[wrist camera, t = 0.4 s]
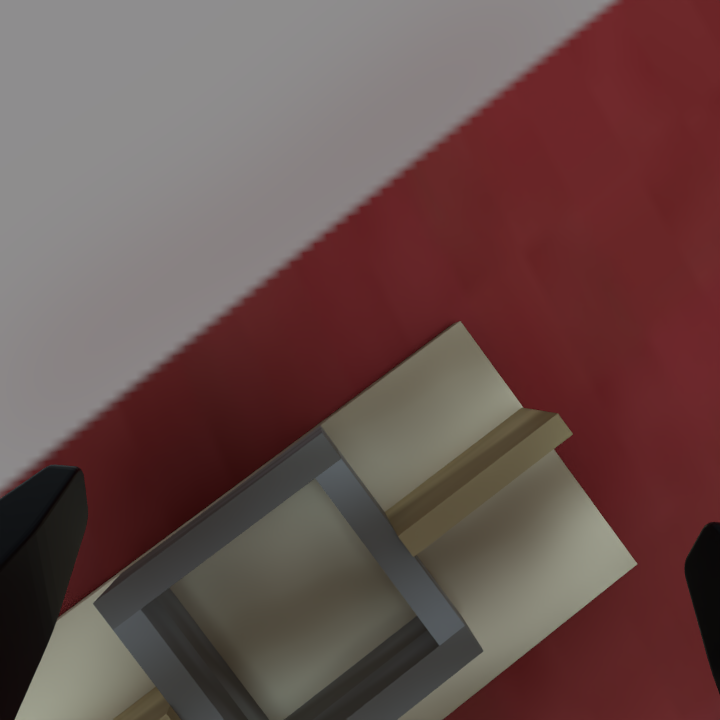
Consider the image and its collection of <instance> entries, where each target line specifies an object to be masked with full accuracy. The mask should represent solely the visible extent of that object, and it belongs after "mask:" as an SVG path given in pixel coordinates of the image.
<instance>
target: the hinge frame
mask: <svg viewBox="0 0 720 720" xmlns="http://www.w3.org/2000/svg"><path fill="white" fill-rule="evenodd" d="M571 435H573V434H572V432H571V431H570V430H569V428H568V427H567V425H566V424H565V423H564V421H563V420H562V419H561V417H560V416H559V414H558V413H552V412H545V411H539V410H533V409H527V408H523V407H522V405H521V404H520V402H519V401H518V400H517V398H516V397H515V396H514V394H513V393H512V391H511V390H510V389H509V387H508V386H507V385H506V383H505V382H504V380H503V379H502V378H501V376H500V375H499V374H498V372H497V371H496V370H495V368H494V367H493V365H492V364H491V363H490V361H489V360H488V359H487V357H486V356H485V354H484V353H483V352H482V350H481V349H480V348H479V346H478V345H477V343H476V342H475V341H474V339H473V338H472V337H471V335H470V334H469V332H468V331H467V330H466V328H465V327H464V326H463V324H462V323H461V321H459V322H456V323H454V324H452V325H451V326H450V327H448V328H447V329H446V330H444V331H443V332H442V333H440V334H439V335H438V336H436V337H435V338H434V339H432V340H431V341H429V342H428V343H427V344H425V345H424V346H423V347H421V348H420V349H419V350H417V351H416V352H415V353H413V354H412V355H411V356H409V357H408V358H407V359H405V360H404V361H403V362H401V363H400V364H399V365H397V366H396V367H395V368H393V369H392V370H391V371H389V372H388V373H386V374H385V375H384V376H382V377H381V378H380V379H378V380H377V381H376V382H374V383H373V384H372V385H370V386H369V387H368V388H366V389H365V390H364V391H362V392H361V393H360V394H358V395H357V396H356V397H354V398H353V399H352V400H350V401H349V402H347V403H346V404H345V405H343V406H342V407H341V408H339V409H338V410H337V411H335V412H334V413H333V414H331V415H330V416H329V417H327V418H326V419H325V420H323V421H322V422H321V423H319V424H318V425H317V426H315V427H314V428H313V429H311V430H310V431H308V432H307V433H306V434H304V435H303V436H302V437H300V438H299V439H298V440H296V441H295V442H294V443H292V444H291V445H290V446H288V447H287V448H286V449H284V450H283V451H282V452H280V453H279V454H278V455H276V456H275V457H274V458H272V459H271V460H269V461H268V462H267V463H265V464H264V465H263V466H261V467H260V468H259V469H257V470H256V471H255V472H253V473H252V474H251V475H249V476H248V477H247V478H245V479H244V480H243V481H241V482H240V483H239V484H237V485H236V486H235V487H233V488H232V489H230V490H229V491H228V492H226V493H225V494H224V495H222V496H221V497H220V498H218V499H217V500H216V501H214V502H213V503H212V504H210V505H209V506H208V507H206V508H205V509H204V510H202V511H201V512H200V513H198V514H197V515H196V516H194V517H193V518H191V519H190V520H189V521H187V522H186V523H185V524H183V525H182V526H181V527H179V528H178V529H177V530H175V531H174V532H173V533H171V534H170V535H169V536H167V537H166V538H165V539H163V540H162V541H161V542H159V543H158V544H157V545H155V546H154V547H152V548H151V549H150V550H148V551H147V552H146V553H144V554H143V555H142V556H140V557H139V558H138V559H136V560H135V561H134V562H132V563H131V564H130V565H128V566H127V567H126V568H124V569H123V570H122V571H120V572H119V573H118V574H116V575H115V576H113V577H112V578H111V579H109V580H108V581H107V582H105V583H104V584H103V585H101V586H100V587H99V588H97V589H96V590H95V591H93V592H92V593H91V594H89V595H88V596H87V597H85V598H84V599H83V600H81V601H80V602H79V603H77V604H76V605H75V606H73V607H72V608H70V609H69V610H68V611H66V612H65V613H64V614H62V615H61V616H60V617H58V618H57V621H56V624H55V627H54V630H53V633H52V635H51V638H50V640H49V643H48V645H47V647H46V650H45V652H44V654H43V656H42V659H41V661H40V663H39V666H38V668H37V670H36V672H35V675H34V677H33V679H32V682H31V684H30V686H29V688H28V691H27V693H26V695H25V697H24V700H23V702H22V704H21V707H20V709H19V711H18V713H17V716H16V718H15V720H442V719H444V718H445V717H446V716H448V715H449V714H450V713H451V712H453V711H454V710H455V709H456V708H458V707H459V706H460V705H461V704H463V703H464V702H465V701H466V700H468V699H469V698H470V697H471V696H473V695H474V694H475V693H476V692H478V691H479V690H480V689H481V688H483V687H484V686H485V685H486V684H488V683H489V682H490V681H491V680H493V679H494V678H495V677H496V676H498V675H499V674H500V673H501V672H503V671H504V670H505V669H506V668H508V667H509V666H510V665H511V664H513V663H514V662H515V661H516V660H518V659H519V658H520V657H521V656H523V655H524V654H525V653H526V652H528V651H529V650H530V649H531V648H533V647H534V646H535V645H536V644H538V643H539V642H540V641H542V640H543V639H544V638H545V637H547V636H548V635H549V634H550V633H552V632H553V631H554V630H555V629H557V628H558V627H559V626H560V625H562V624H563V623H564V622H565V621H567V620H568V619H569V618H570V617H572V616H573V615H574V614H575V613H577V612H578V611H579V610H580V609H582V608H583V607H584V606H585V605H587V604H588V603H589V602H590V601H592V600H593V599H594V598H595V597H597V596H598V595H599V594H600V593H602V592H603V591H604V590H605V589H607V588H608V587H609V586H610V585H612V584H613V583H614V582H615V581H617V580H618V579H619V578H620V577H622V576H623V575H624V574H625V573H627V572H628V571H629V570H630V569H632V568H633V567H634V566H635V565H637V563H636V562H635V560H634V559H633V557H632V556H631V555H630V553H629V552H628V551H627V549H626V548H625V547H624V545H623V544H622V542H621V541H620V540H619V538H618V537H617V536H616V534H615V533H614V531H613V530H612V529H611V527H610V526H609V525H608V523H607V522H606V520H605V519H604V518H603V516H602V515H601V514H600V512H599V511H598V509H597V508H596V507H595V505H594V504H593V503H592V501H591V500H590V498H589V497H588V496H587V494H586V493H585V492H584V490H583V489H582V488H581V486H580V485H579V483H578V482H577V481H576V479H575V478H574V477H573V475H572V474H571V472H570V471H569V470H568V468H567V467H566V466H565V464H564V463H563V461H562V460H561V459H560V457H559V456H558V455H557V453H556V452H555V450H554V448H556V447H557V446H558V445H560V444H561V443H562V442H563V441H565V440H566V439H567V438H569V437H570V436H571Z"/></svg>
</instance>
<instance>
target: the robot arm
mask: <svg viewBox="0 0 720 720" xmlns="http://www.w3.org/2000/svg"><path fill="white" fill-rule="evenodd" d="M87 519H88V506H87V498H86V490H85V482H84V475H83V472H82V470H81V469H80V468H78V467H75V466H64V465H50V466H47V467H46V468H44V469H42V470H41V471H40V472H38V473H37V474H35V475H34V476H32V477H31V478H30V479H28V480H27V481H25V482H24V483H22V484H21V485H19V486H18V487H17V488H15V489H14V490H12V491H11V492H9V493H8V494H6V495H5V496H4V497H2V498H1V499H0V720H15V718H16V716H17V713H18V711H19V709H20V707H21V704H22V702H23V700H24V697H25V695H26V693H27V691H28V688H29V686H30V684H31V682H32V679H33V677H34V675H35V672H36V670H37V668H38V666H39V663H40V661H41V659H42V656H43V654H44V652H45V650H46V647H47V645H48V643H49V640H50V638H51V635H52V633H53V630H54V627H55V624H56V621H57V618H58V615H59V612H60V609H61V606H62V603H63V600H64V596H65V593H66V590H67V587H68V583H69V580H70V577H71V574H72V571H73V567H74V564H75V561H76V558H77V554H78V551H79V548H80V545H81V541H82V538H83V535H84V532H85V528H86V525H87ZM685 577H686V581H687V585H688V588H689V592H690V596H691V599H692V603H693V607H694V610H695V614H696V617H697V621H698V625H699V628H700V632H701V636H702V639H703V643H704V647H705V650H706V654H707V658H708V661H709V664H710V668H711V671H712V674H713V677H714V680H715V683H716V685H717V688H718V691H719V694H720V522H711V523H708V524H707V525H705V526H704V528H703V529H702V531H701V533H700V535H699V536H698V538H697V540H696V542H695V543H694V545H693V547H692V549H691V551H690V552H689V554H688V556H687V558H686V561H685Z"/></svg>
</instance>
